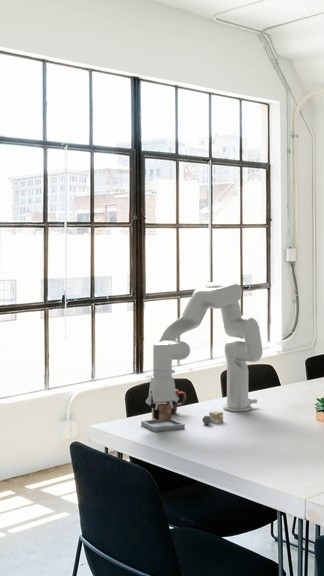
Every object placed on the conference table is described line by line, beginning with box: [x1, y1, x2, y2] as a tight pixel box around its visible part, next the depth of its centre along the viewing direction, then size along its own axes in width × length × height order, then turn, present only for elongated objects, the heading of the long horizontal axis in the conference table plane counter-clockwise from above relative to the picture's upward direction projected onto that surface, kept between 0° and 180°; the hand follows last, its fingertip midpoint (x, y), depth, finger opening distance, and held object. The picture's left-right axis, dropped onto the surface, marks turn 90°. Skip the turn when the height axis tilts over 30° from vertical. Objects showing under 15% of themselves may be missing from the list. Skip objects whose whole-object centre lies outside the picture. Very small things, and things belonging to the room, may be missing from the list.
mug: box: [159, 388, 187, 415], centre depth 314 cm, size 12×9×10 cm
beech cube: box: [208, 410, 224, 424], centre depth 299 cm, size 4×4×4 cm
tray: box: [140, 417, 185, 433], centre depth 290 cm, size 13×13×2 cm
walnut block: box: [158, 402, 172, 421], centre depth 289 cm, size 5×5×6 cm
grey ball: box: [202, 415, 212, 426], centre depth 294 cm, size 4×4×4 cm
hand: (162, 417), depth 289 cm, fingers closed on walnut block, 5 cm apart
